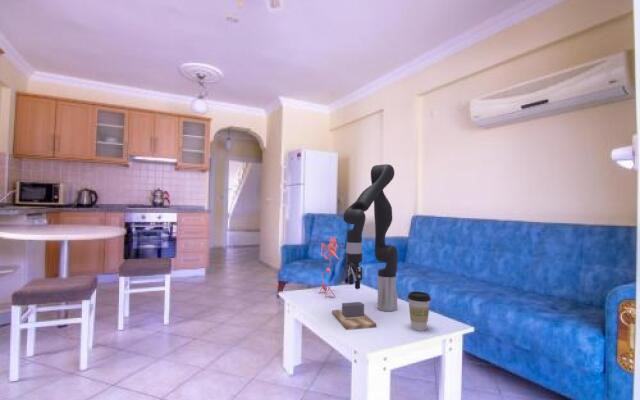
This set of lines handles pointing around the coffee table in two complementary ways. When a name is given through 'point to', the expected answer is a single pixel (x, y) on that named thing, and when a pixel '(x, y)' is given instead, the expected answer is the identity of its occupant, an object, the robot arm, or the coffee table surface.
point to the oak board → (354, 321)
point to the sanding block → (352, 310)
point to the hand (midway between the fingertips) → (354, 286)
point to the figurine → (332, 250)
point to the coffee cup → (419, 310)
